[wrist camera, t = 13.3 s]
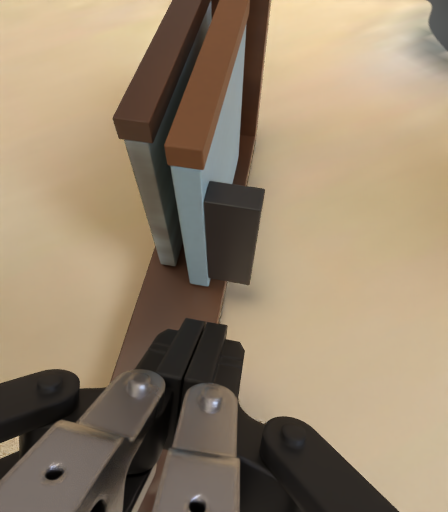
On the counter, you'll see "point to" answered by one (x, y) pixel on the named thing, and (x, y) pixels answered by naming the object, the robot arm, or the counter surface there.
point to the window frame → (160, 177)
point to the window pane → (215, 157)
